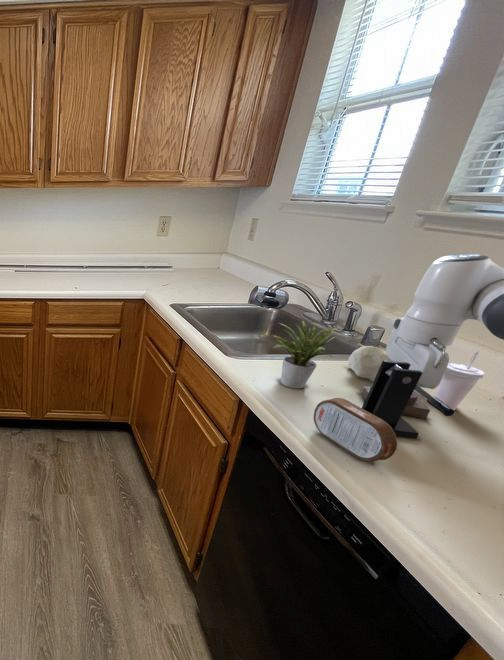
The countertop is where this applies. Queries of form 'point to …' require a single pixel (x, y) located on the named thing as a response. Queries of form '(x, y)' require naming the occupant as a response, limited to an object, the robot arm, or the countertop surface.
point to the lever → (429, 397)
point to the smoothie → (458, 382)
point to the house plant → (301, 356)
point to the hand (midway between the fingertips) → (398, 388)
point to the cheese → (367, 361)
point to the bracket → (393, 396)
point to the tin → (355, 429)
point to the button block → (408, 404)
